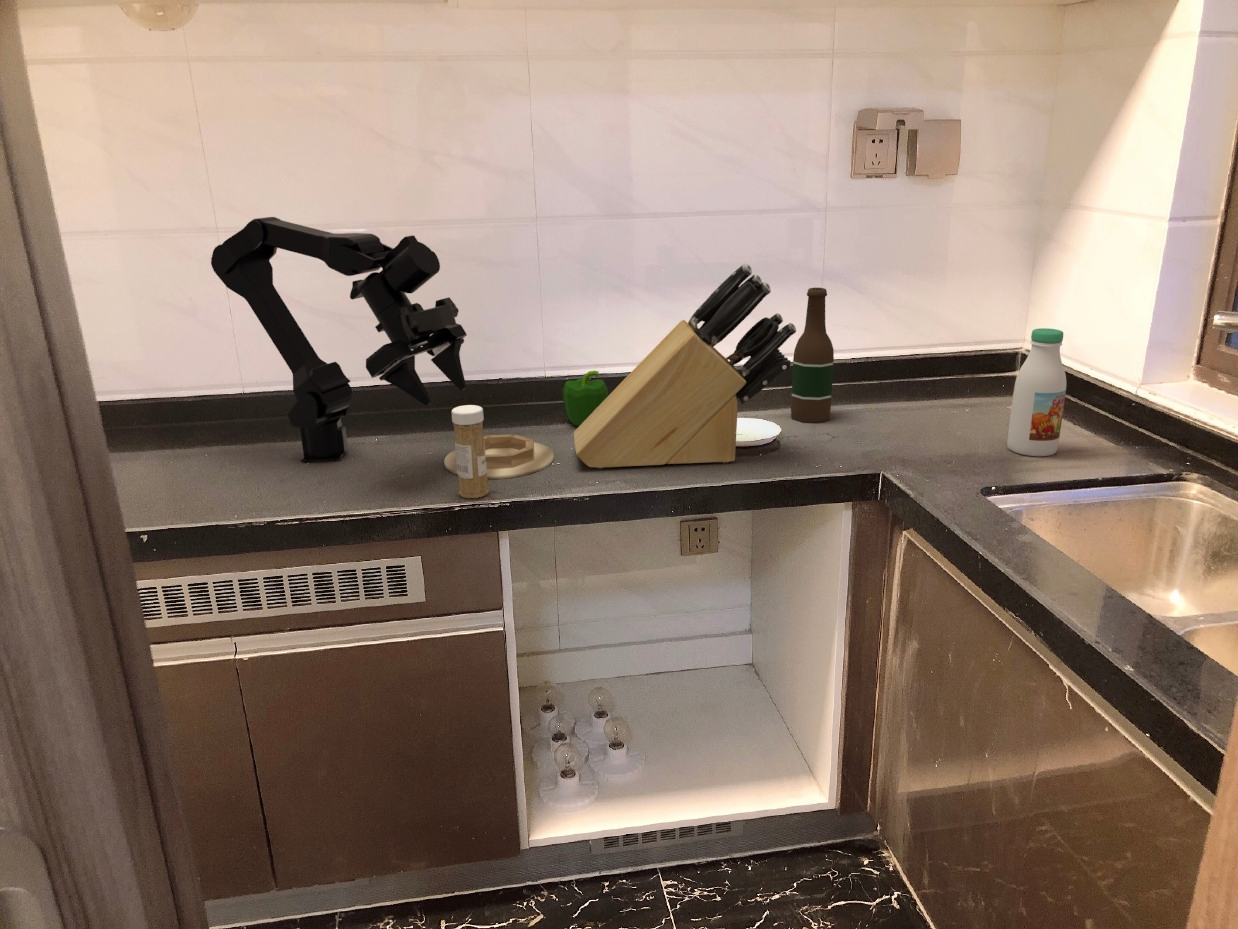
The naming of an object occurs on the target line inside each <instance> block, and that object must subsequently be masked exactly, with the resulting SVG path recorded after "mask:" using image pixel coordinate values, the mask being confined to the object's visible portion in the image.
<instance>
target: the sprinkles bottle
mask: <svg viewBox="0 0 1238 929" xmlns="http://www.w3.org/2000/svg"><path fill="white" fill-rule="evenodd" d="M484 420H485V418H484V409H483V406H482V407H481V406H479V405H475V404H466V405H464V404H463V405H459V406H456V407H454V408H453V409H451V422H452V426H453V430H454V431H453V432H454V446H455V447H454V450H456V461H457V471H458V475H457V476H458V485H459V486H458V487H459V490H458V494H459V496H461V497H462V498H465V499H470V498H473V499H479V497H480V498H483V497H484V496H486V495H488V494H489V491H490V489H489V486H488V485H489V484H488V479H487V466H486V456H485V443H484V436H485V435H484V428H483V427H484V425H483V423H484ZM482 496H483V497H482Z"/></svg>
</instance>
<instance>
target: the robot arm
mask: <svg viewBox="0 0 1238 929" xmlns="http://www.w3.org/2000/svg"><path fill="white" fill-rule="evenodd" d="M277 249H281V250H284V251H288V252H293V253H296V254H300V255H303V256H306V257H307V256H308V257H309V258H310V257H311V258H314V259H318V260H320V261H322V262H323V263H325V265H326V266H327V267H328V268H330V269H332V270H334V271H335V272H338V273H339V274H341V275H344V276H346V277H351V276H356V275H357V276H358V275H362V274H368V273H369V274H368V275H367V276H366V277H364V278H363V279H357V280H353V281H352V283H351V284H352V287H351V289H350V293H349V299H351V300H356V299H361V298H363V299H364V300H365V303H367V305H368V307H369V309H370V310H371V311H372V313H373V315H374V316H375V318H376V320H377V321H378V324H377V325H376V326H375V327H374V328H375V329H376V331H377V333H381V332H384V333H385V334H386V336H387V338H388V339H389V341H390V342H389V343H386V344H383V345H382V346H380V347H379V348H378V349H377V350H376V351H374V352H373V353H372V354H371V355H370V356H368V357H366V359H365V368H366V371H367V372H368V373H369V375H370V376H371V378H372V379H373V378H376V377H379V380H380V382H381V381H385V382H387V383H389V384H391V385H392V386H395V388H398V389H399V390H401V391H403V392H405V393H406V394H407V395H409V396H411V397H412V398H413V399H415V400H417V401H418V402H419V403H421V404H423V405H424V406H428V405H430V404H431V403H432V399H431V397H430V395H429V392H428V391H427V389H426V387H425V385H424V384H423V382H422V380H421V378H420V376H419V375H418V373H417V371H416V356H417V355H420V354H423V353H426V354H428V355H430V356H431V357H432V358H431V359H430V361H431V362H432V363H433V364H434V365H435V367H437V369H439V370H440V372H441V373H443V374H444V376H445V377H446V378H448V381H449V380H450V382H451V383H452V384H453V385H454V386H455V387H456V388H457V389H458V390H460V391H464V390H465V389H466V387H467V385H466V380H465V374H464V372H463V367H462V364H461V363H462V362H461V356H460V355H461V354H460V352H461V347H462V345H463V344H464V343H465V339H464V338H466V336H467V335H468V334H467V333H466V331H465V329H464V327H463V326H462V324H460V323H457V321H456V318H457V317H458V316H459V315H458V314H459V313H460V312H459V307H457V306H456V304H455V302H454V301H453V300H452V299H451V298H450V296H449V297H448V296H447V297H446V298H441V299H438V300H435V305H434V306H435V307H431V308H427V309H424V308H423V306H422V304H420V303H419V302H415V303H412V302H411V300H410V299H409V297H408V296H407V294H413V293H415V292H416V291H417V290H419V289H420V288H421V287H422V286H424V284H426V283H427V282H429V281H430V279H432V278H433V277H434V276H435V275H436V274H438V273H440V270H441V264H440V260H439V258H438V255H437V254H436V253H435V252H434V251H432V249H431V248H430V247H428V246H427V245H426V244H424V243H423V242H420V241H419V240H418V239H417V238H416V236H415V235H407V236H404V237H403V238H402V239H401V240H400V241H399V243H398V244H397V245H396V246H394V247H391V246H389V245H387V244H385V243H383V242H381V239H380V237H378V236H377V235H376V234H373V233H366V232H365V233H363V232H361V233H358V232H357V233H356V232H355V233H354V232H352V233H351V232H349V233H347V232H346V233H335V232H334V233H333V232H328V231H324V230H322V229H318V228H314V227H309V226H305V225H303V224H302V225H301V224H297V223H294V222H290V221H286V220H282V219H280V218H278V217H276V216H268V217H257V218H253V219H251V220H250V221H249V222H248V223H247V224H246V225H245V226H244V227H243V228H242V229H240V230H239V231H238V232H235V234H233V235H232V236H230V237H229V238H227V239H226V240H224V241H223V243H221V244H218V245H216V246H215V247H214V249H213V250H212V254H211V260H210V265H211V268H212V270H213V272H214V273H215V274H216V276H217V277H218V278H219V280H220V281H221V282H222V283H223V285H225V287H226V288H227V289H229V291H230V290H231V291H232V292H234V293H236V294H237V295H238V296H240V297H241V298H243V299H244V300H245V301H246V302H247V303H248V305H249V307H250V308H251V310H252V311H253V313H254V315H255V316H256V318H257V319H258V321H259V323H260V324H261V325H262V327H263V329H264V330H265V332H266V334H267V336H268V337H269V338H270V340H271V342H272V343H273V345H274V346H275V348H276V350H277V351H278V353H279V354H280V356H281V357H282V359H283V360H284V362H285V363H286V365H287V366H288V369H289V370H290V371H291V373H292V392H293V394H294V396H295V398H296V403H294V405H293V406H292V407H291V409H290V410H289V411H288V413H287V418H288V419H289V423H290V424H291V427H295V428H299V432H300V440H301V445H302V446H301V447H302V453H303V455H302V457H300V461H301V462H304V463H305V462H307V463H308V462H326V461H327V462H329V461H334V462H335V461H340V460H342V458H343V456H344V455H345V454H346V452H347V451H348V448H349V447H348V446H349V445H348V438H347V431H346V430H347V429H346V427H345V426H343V425H342V418H344V417H347V416H348V413H349V407H350V405H351V402H352V395H353V391H352V387H351V385H350V383H351V379H349V378H348V377H347V376H346V374H345V373H344V371H343V369H342V367H341V366H340V364H339V363H338V362H337V361H333V362H329V363H327V362H325V361H324V360H323V359H321V358H320V357H319V356H318V354H317V352H316V350H315V349H314V347H313V345H312V344H311V343H310V342H309V340H308V338H307V336H306V335H305V333H304V332H303V330H302V329H301V327H300V325H299V324H298V322H297V321H296V319H295V317H294V316H293V314H292V313H291V311H290V310H289V308H288V306H287V305H286V303H285V301H284V300H283V298H282V297H281V296H280V294H279V292H278V291H277V289H276V287H275V285H274V273H273V269H274V268H273V266H272V264H271V262H270V260H271V259H272V258H273V257H274V256H275V255H276V254H277ZM380 268H382V270H380ZM379 270H380V272H379ZM377 271H378V272H377Z"/></svg>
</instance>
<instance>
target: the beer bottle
mask: <svg viewBox="0 0 1238 929" xmlns="http://www.w3.org/2000/svg"><path fill="white" fill-rule="evenodd" d="M806 296H807V305H806V306H807V307H806V308H807V309H806V316H805V325H804V330H803V332H802V334H801V336H800V337H799V338H798V340H797V343H796V345H795V347H794V352H793V357H792V375H791V376H792V380H791V398H790V417H791V419H792V420H794V421H796V422H800V423H810V424H811V423H812V424H819V423H824V422H827V421H829V420H830V417H831V410H832V409H831V408H832V393H833V390H832V389H833V377H834V360H835V359H834V357H835V356H834V355H835V353H834V352H835V351H834V350H835V349H834V346H833V342H832V339H831V338H830V337H829V335H828V334H827V327H826V297H827V296H828V292H827V289H826V288H825V287H809V288H808V289H807V292H806Z"/></svg>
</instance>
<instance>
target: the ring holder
mask: <svg viewBox="0 0 1238 929" xmlns="http://www.w3.org/2000/svg"><path fill="white" fill-rule="evenodd" d="M484 443H485V456H486V466H487V480H502V479H503V480H504V479H512V478H519V477H522V476H527V475H528V476H529V475H532V474H534V473H535V474H536V473H537V472H540V471H542V470H544V469H546V468H547V467H549V466H551V464H552V463H553V462H554V457H555V456H554V455H555V454H554V451H553V450H552V449H551V448H550V447H549V446H547V445H544V444H542V443H540V442H539V443H538V442H535V441H534V439H532V438H530V437H529V438H528V437H526V436H522V435H518V434H491V435H488V434H487V435H484ZM444 467H445V469H446V470H447V471H448V472H450V473H451V474H454V475H457V476H458V471H457V461H456V450H455V449H453V450H452V451H451V452H449V453H448V454H447V455H446V456H445V457H444Z"/></svg>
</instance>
